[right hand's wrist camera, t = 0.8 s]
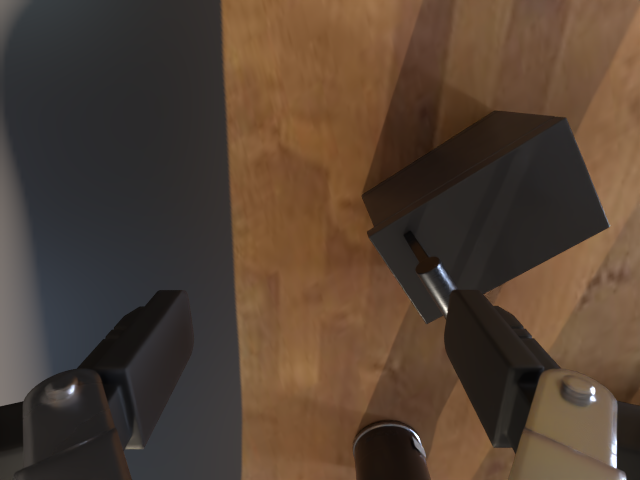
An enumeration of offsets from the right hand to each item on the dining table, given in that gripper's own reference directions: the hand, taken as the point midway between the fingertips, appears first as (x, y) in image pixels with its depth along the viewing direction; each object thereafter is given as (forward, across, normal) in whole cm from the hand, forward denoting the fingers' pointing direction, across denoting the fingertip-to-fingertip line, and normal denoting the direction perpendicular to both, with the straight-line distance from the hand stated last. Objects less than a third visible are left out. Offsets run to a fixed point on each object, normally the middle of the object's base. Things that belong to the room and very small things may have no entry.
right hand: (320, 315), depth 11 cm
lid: (+18, +13, -3) cm, 23 cm away
